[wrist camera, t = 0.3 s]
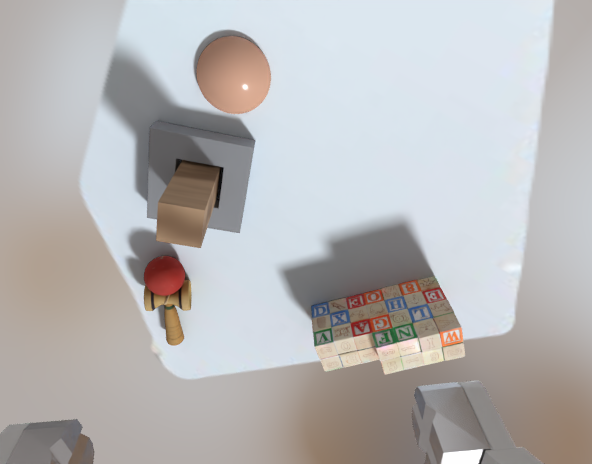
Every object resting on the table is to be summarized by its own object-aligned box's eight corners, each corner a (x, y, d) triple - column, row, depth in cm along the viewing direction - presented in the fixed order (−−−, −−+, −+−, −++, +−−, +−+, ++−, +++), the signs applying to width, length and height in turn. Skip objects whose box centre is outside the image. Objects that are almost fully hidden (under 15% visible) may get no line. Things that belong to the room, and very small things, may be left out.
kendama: (204, 326, 75) (195, 252, 63) (192, 356, 70) (179, 281, 58) (163, 319, 75) (147, 244, 64) (148, 348, 70) (127, 273, 59)
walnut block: (185, 155, 56) (157, 202, 44) (221, 162, 57) (204, 210, 45) (182, 187, 59) (156, 240, 47) (217, 194, 59) (200, 248, 47)
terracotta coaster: (191, 37, 49) (190, 38, 48) (268, 34, 49) (267, 35, 48) (203, 114, 53) (202, 115, 53) (273, 111, 53) (272, 112, 53)
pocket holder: (156, 120, 54) (149, 127, 51) (255, 140, 55) (253, 147, 53) (152, 207, 60) (146, 217, 58) (241, 222, 62) (239, 233, 59)
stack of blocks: (319, 330, 74) (325, 388, 63) (310, 304, 71) (314, 361, 60) (439, 302, 71) (466, 357, 61) (435, 274, 68) (462, 328, 57)
